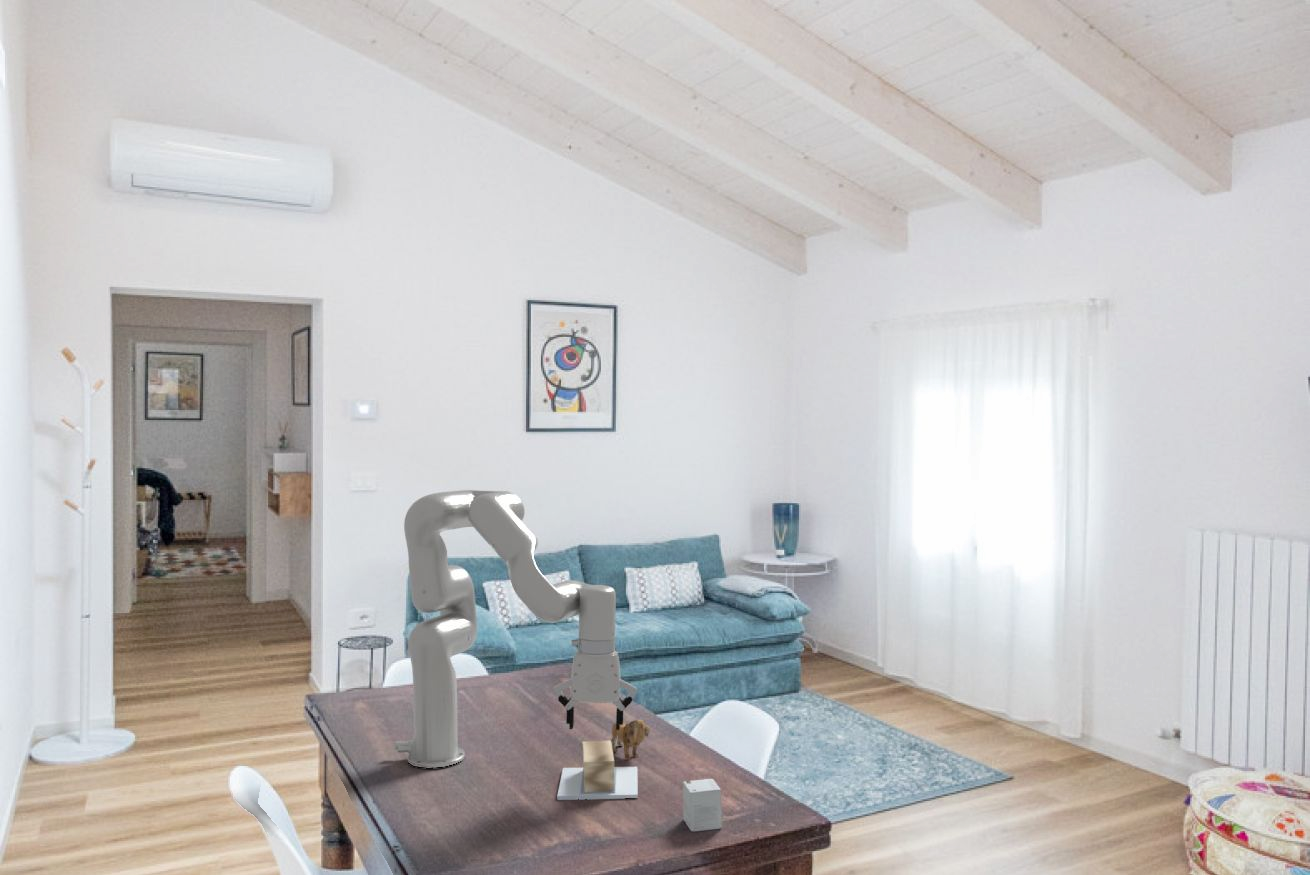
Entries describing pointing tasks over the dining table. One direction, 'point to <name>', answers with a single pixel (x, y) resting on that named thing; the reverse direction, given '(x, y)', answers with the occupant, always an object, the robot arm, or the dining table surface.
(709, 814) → the skincare box
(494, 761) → the dining table surface
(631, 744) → the lion figurine
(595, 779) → the oak block
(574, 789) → the board
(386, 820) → the dining table surface
